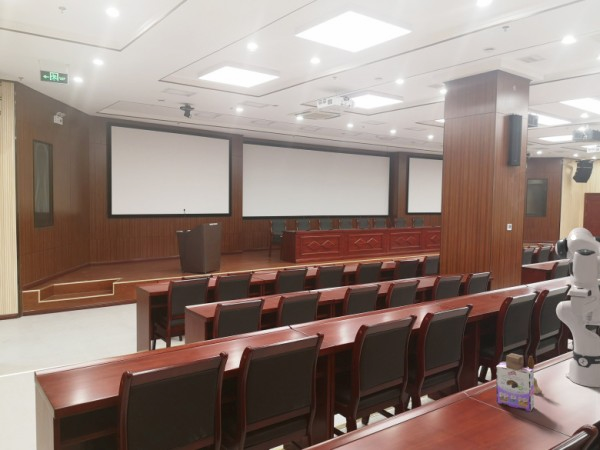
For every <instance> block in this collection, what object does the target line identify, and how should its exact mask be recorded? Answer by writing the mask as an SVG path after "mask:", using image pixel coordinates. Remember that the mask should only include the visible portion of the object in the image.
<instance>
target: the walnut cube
mask: <svg viewBox="0 0 600 450" xmlns="http://www.w3.org/2000/svg"><path fill="white" fill-rule="evenodd" d="M505 362H506V367H507V368H511V369H515V370H520V369H522V368H524V355H520V354H517V353H509V354H507V355H506V356H505Z"/></svg>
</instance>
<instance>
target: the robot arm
mask: <svg viewBox="0 0 600 450" xmlns="http://www.w3.org/2000/svg"><path fill="white" fill-rule="evenodd" d="M554 250H555V253H556V255H557V256H558V258H559V259H563V260H567V259H569V260H568V267H569V268H568V270H569V271H568V274H570V275H569V276H570V284H571V288H570V289H569V291H568V293H569V294H568V295H569V296H570V300H563V301H559V303H558V304H557V306H556V308H555V312H556V316H557V318H558V319H559V320H560V321H561V322H562V323H564V324H565V325H566V326H567V327H568V328H569V330H570V332H571V334H572V337H573V350H572V359H571V360H569V364H568V365H569V366H568V373H566V374H565V377H566V378H567V379H569V380H570V381H571V382H573V383H575V384H577V385H581V386H584V387H589V388H600V336H599V335H598V334H597V333H596V332H594V331H591V330H589V329H587V328H586V326H587V325H588V326H589V325H590V326H600V287H599V280H600V236H593V234H592V233H591V231H590V230H588V229H587V228H585V227H582V226H581V227H580V226H579V227H575V228H573V229H571V230H570V232H569V233H568V235H567V237H563V238H561V239H558V240H557V241H556V243H555V247H554Z"/></svg>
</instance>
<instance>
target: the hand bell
mask: <svg viewBox="0 0 600 450" xmlns="http://www.w3.org/2000/svg"><path fill="white" fill-rule="evenodd" d="M527 365H528V369H533V370H534V367H535V360H534V357H533V356H532V355H529V356H528V360H527ZM541 393H542V389H541V388H540V387H539V385H538V380H537V378H536V377H534V395H535V394H541Z"/></svg>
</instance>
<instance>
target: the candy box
mask: <svg viewBox="0 0 600 450" xmlns="http://www.w3.org/2000/svg"><path fill="white" fill-rule="evenodd" d="M495 371H496V373H495V375H496V377H495V379H496V382H495V383H496V384H495V386H496V403H497V404H500V405H504V406H509V407H512V408H516V409H519V410H523V411H527V412H531V411H532V410H533V409H534V408H535V394H534V378H535V377H534V368H533V369H529V367H528V368H527V367H523V368H522V369H520V370H515V369H511V368H507V367H506V364H504V363H500V362H499V363H498V364H497V365H496V366H495Z"/></svg>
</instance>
